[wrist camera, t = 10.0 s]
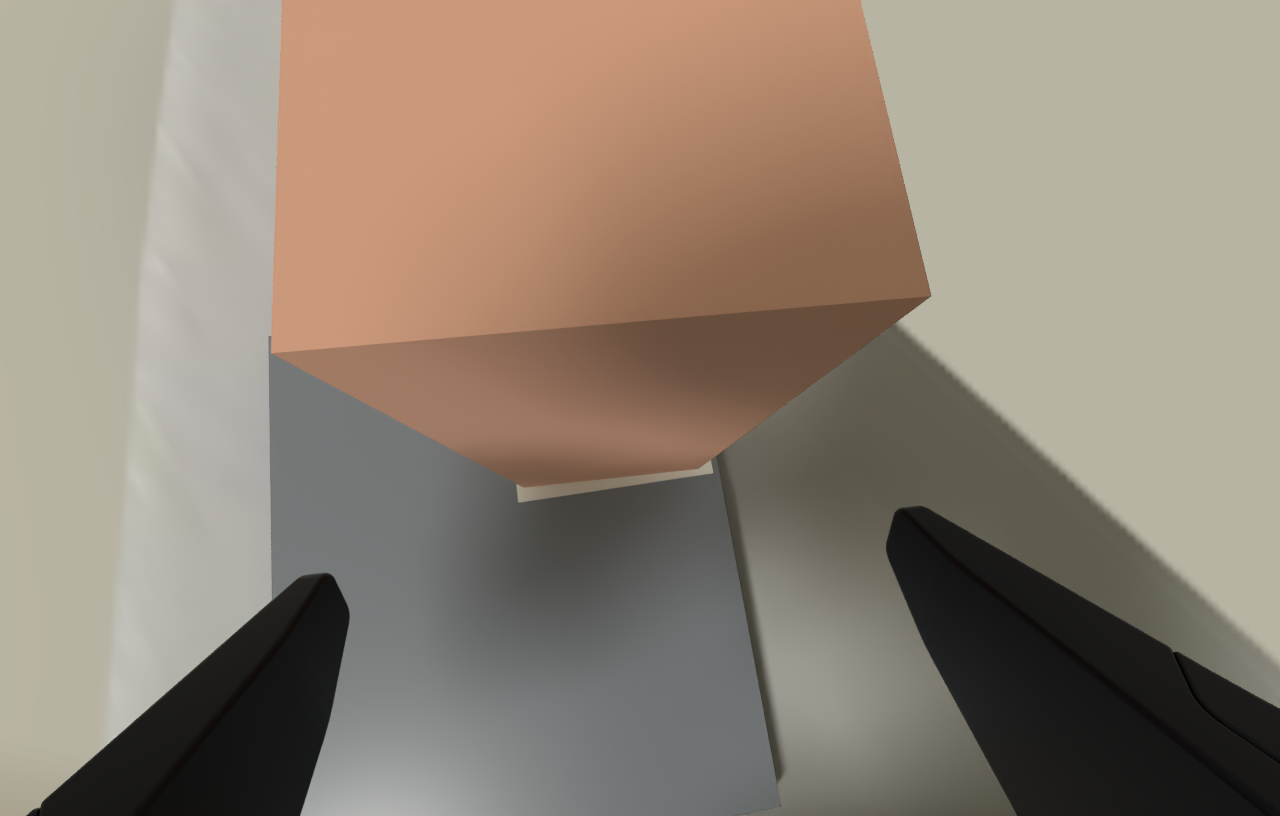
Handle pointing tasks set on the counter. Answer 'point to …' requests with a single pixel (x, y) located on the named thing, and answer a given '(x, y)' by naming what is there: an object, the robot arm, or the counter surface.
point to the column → (584, 219)
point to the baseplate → (515, 627)
